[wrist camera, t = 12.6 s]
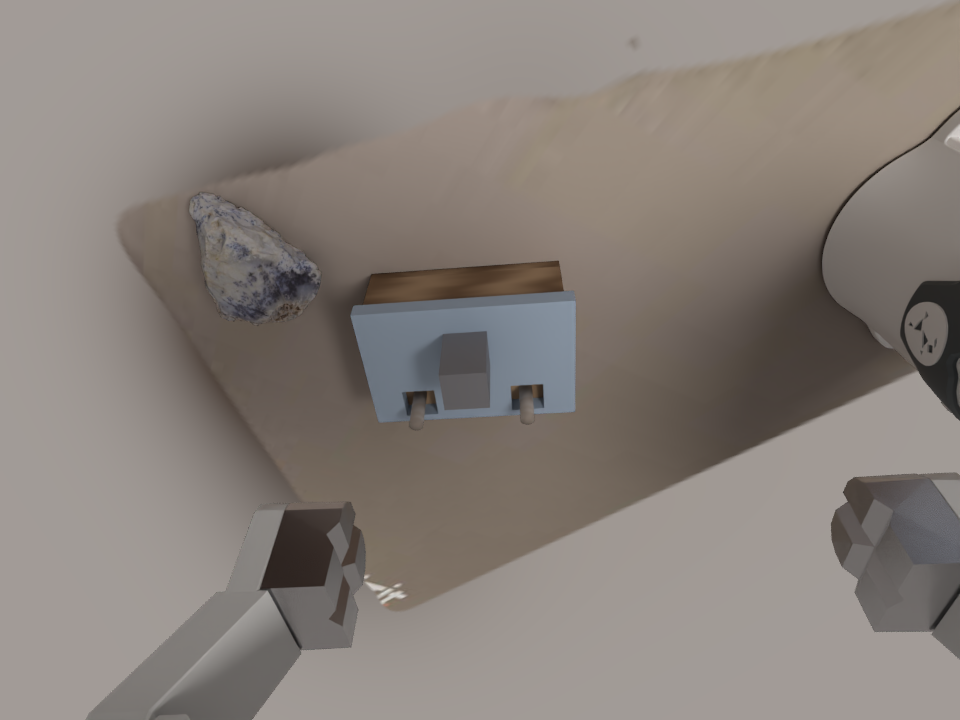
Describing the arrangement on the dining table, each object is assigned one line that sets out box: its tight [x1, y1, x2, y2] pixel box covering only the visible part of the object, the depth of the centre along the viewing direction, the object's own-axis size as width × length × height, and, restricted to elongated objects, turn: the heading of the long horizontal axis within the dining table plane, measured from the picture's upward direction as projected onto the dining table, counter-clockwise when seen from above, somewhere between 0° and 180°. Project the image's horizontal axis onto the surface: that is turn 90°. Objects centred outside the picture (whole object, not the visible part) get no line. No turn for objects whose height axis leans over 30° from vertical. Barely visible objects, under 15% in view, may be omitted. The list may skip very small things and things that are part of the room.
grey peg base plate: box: [350, 291, 576, 422], centre depth 43 cm, size 15×10×6 cm, turn 95°
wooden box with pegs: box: [363, 261, 564, 430], centre depth 46 cm, size 14×9×8 cm, turn 95°
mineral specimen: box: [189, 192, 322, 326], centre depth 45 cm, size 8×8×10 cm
